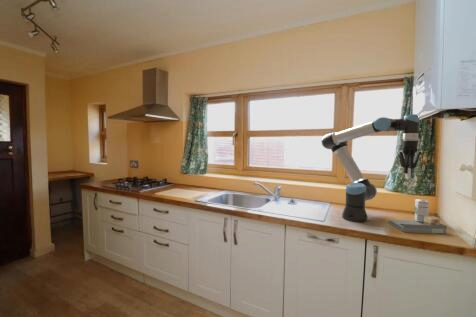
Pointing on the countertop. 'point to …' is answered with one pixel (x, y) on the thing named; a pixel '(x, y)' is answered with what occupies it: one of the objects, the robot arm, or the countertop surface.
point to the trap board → (417, 226)
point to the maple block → (431, 220)
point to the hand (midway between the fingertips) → (407, 178)
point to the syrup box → (421, 209)
